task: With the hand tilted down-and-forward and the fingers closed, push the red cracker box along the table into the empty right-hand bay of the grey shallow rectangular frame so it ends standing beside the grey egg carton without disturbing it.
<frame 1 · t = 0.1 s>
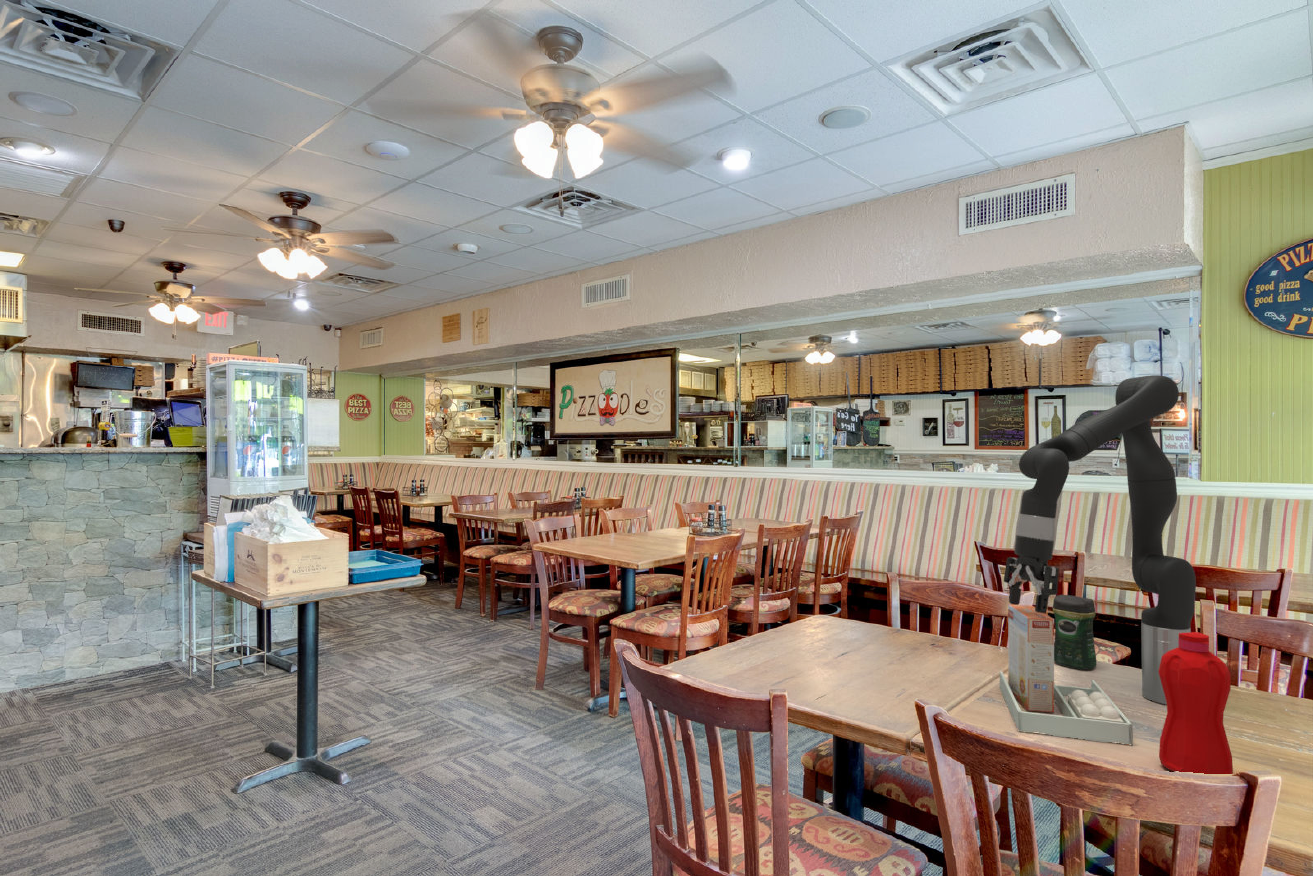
hand: (1026, 608, 155), 22 cm above the table, tool pointing down, fingers open, 8 cm apart
cracker box: (1030, 702, 159), resting in grey shallow rectangular frame
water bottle: (1190, 772, 124), on the table
egg carton: (1094, 728, 144), resting in grey shallow rectangular frame
coffee jar: (1074, 666, 186), on the table
grey shallow rectangular frame: (1058, 713, 152), on the table
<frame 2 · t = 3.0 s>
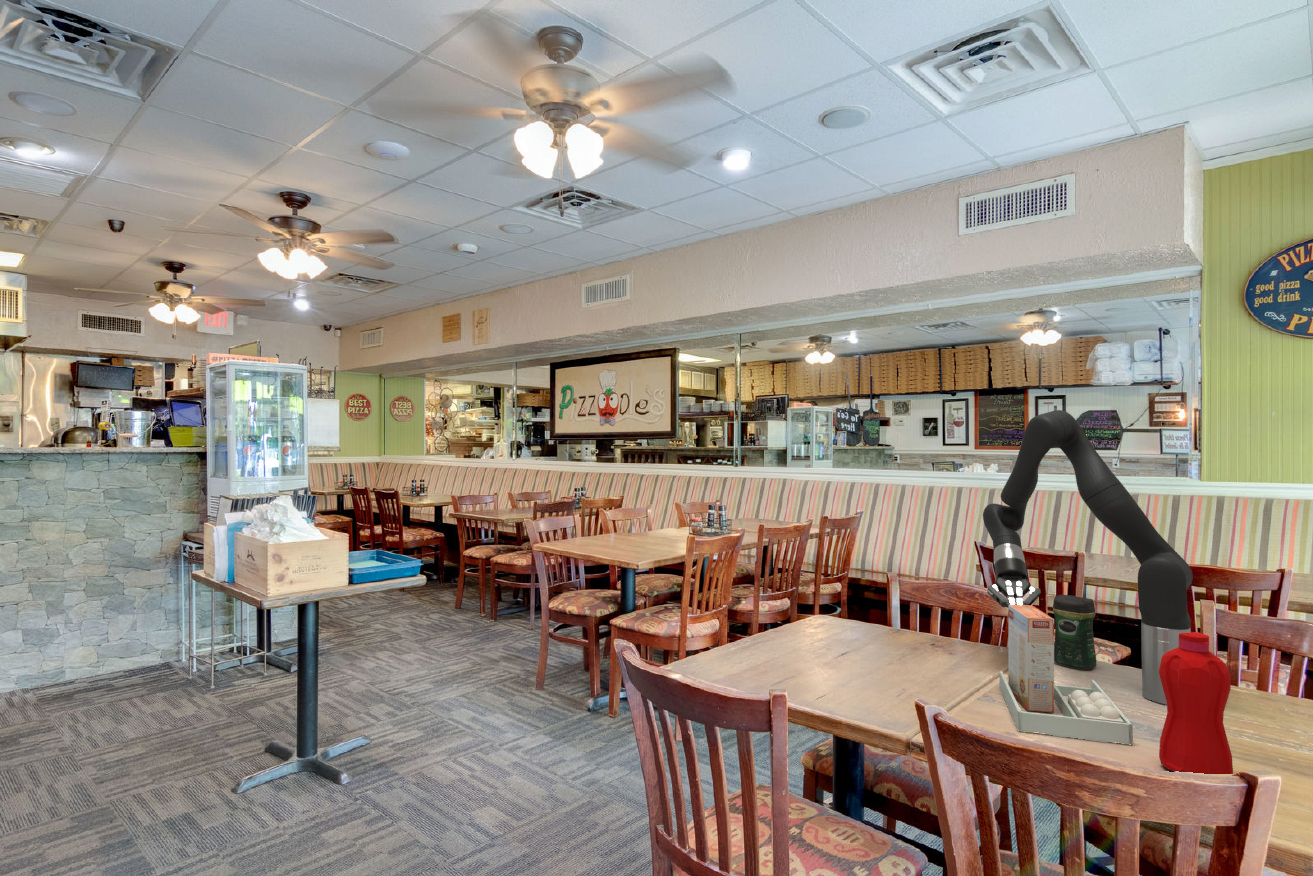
hand: (1017, 620, 175), 15 cm above the table, tool tilted 45°, fingers closed
nothing on the table moved.
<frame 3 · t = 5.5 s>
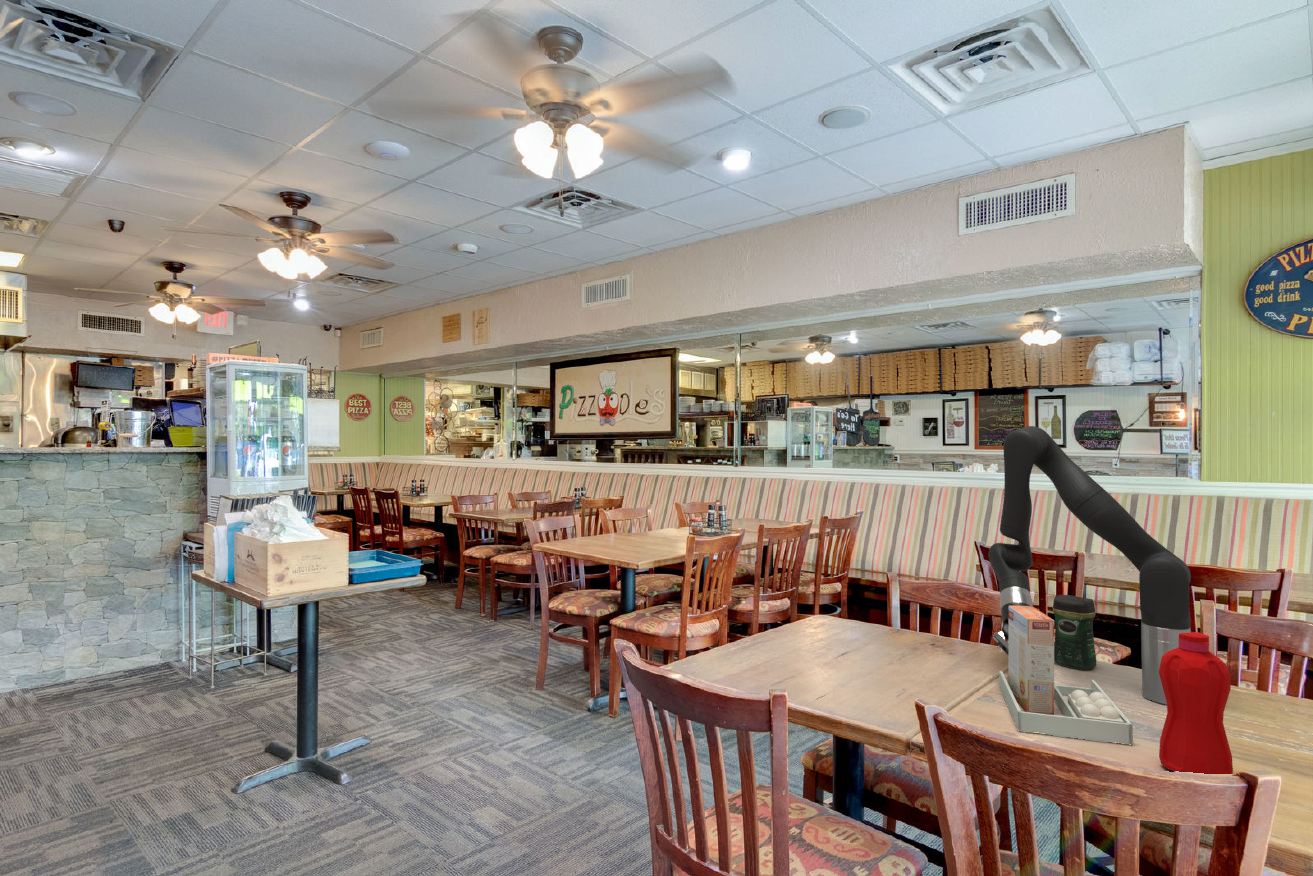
hand: (1025, 672, 165), 5 cm above the table, tool tilted 45°, fingers closed
cracker box: (1031, 704, 158), resting in grey shallow rectangular frame, touching gripper
everything else where it was.
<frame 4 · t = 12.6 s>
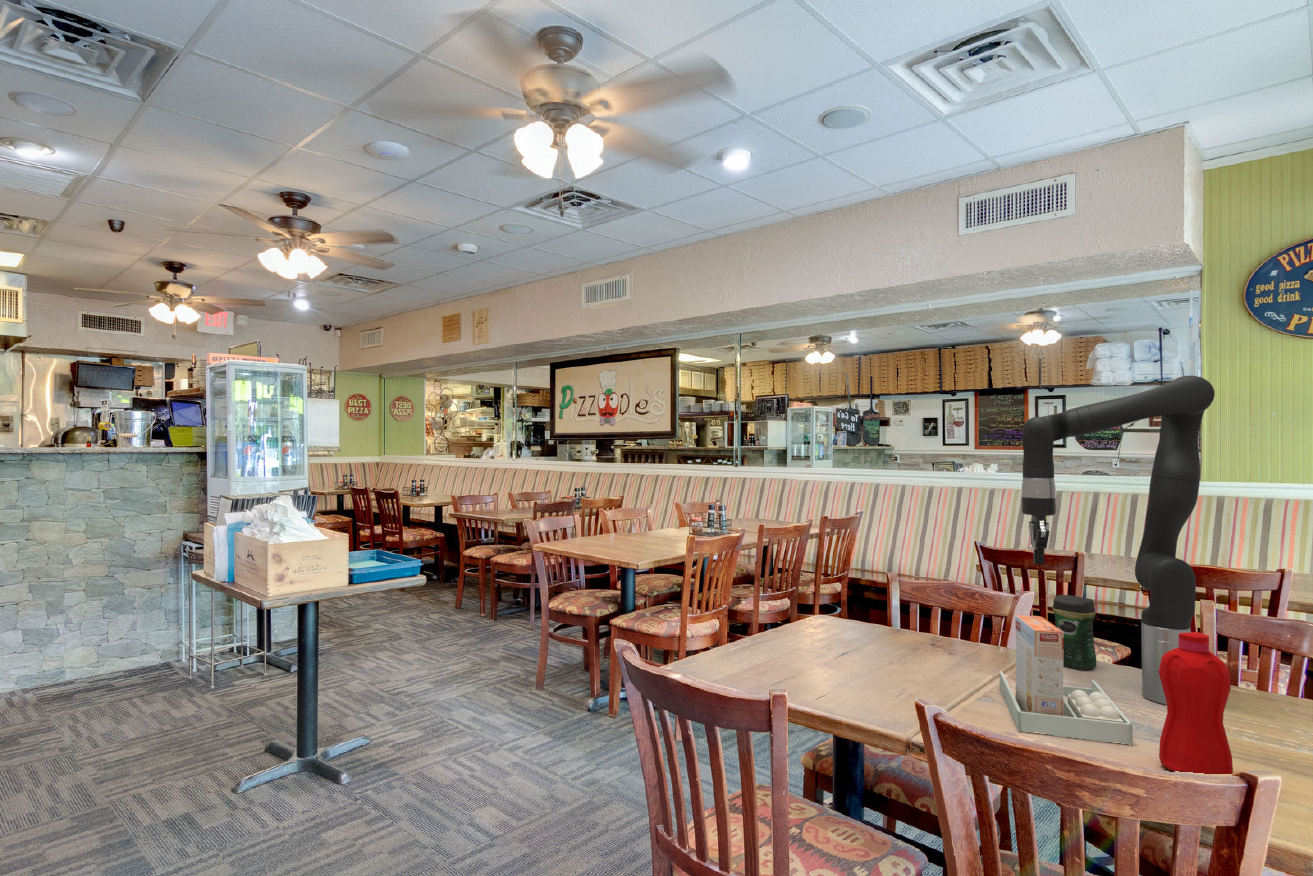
hand: (1039, 564, 175), 29 cm above the table, tool pointing down, fingers closed
cracker box: (1039, 721, 148), resting in grey shallow rectangular frame
everything else where it was.
at the end: cracker box inside the target area (0.8 cm from its centre), resting in grey shallow rectangular frame; cracker box tilted 0°; egg carton moved 0.3 cm from its start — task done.
